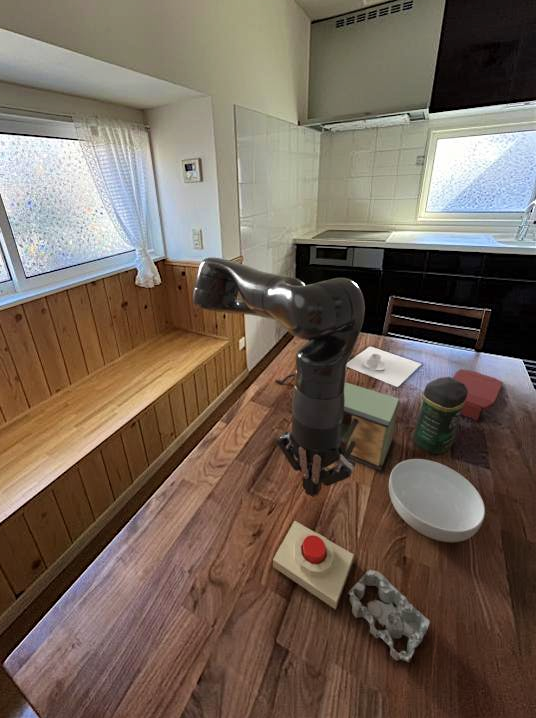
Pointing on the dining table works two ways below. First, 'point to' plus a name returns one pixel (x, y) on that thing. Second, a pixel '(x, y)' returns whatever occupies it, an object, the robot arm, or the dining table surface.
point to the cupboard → (370, 415)
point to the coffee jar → (440, 414)
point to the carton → (478, 392)
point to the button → (314, 549)
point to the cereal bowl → (436, 500)
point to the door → (364, 440)
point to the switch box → (314, 565)
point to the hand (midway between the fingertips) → (311, 491)
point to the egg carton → (389, 614)
